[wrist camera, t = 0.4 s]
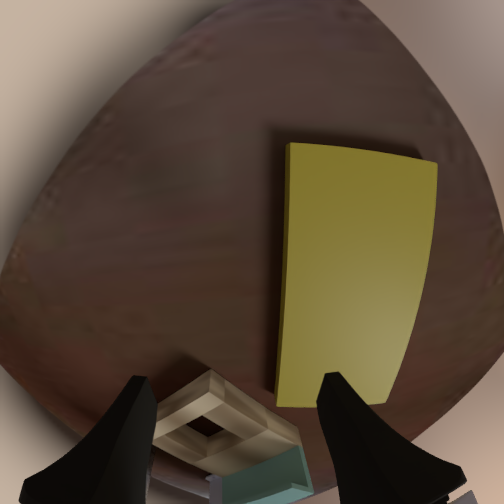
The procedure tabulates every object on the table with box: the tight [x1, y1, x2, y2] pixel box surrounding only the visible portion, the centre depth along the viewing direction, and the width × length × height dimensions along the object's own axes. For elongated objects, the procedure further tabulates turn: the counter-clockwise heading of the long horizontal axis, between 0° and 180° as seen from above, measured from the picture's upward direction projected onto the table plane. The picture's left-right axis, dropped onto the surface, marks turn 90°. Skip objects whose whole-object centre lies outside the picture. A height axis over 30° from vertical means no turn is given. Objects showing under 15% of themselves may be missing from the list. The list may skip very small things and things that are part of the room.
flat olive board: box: [274, 143, 437, 407], centre depth 21 cm, size 12×2×24 cm
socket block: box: [152, 369, 302, 477], centre depth 23 cm, size 11×13×3 cm
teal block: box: [222, 445, 314, 504], centre depth 20 cm, size 11×4×6 cm, turn 131°
